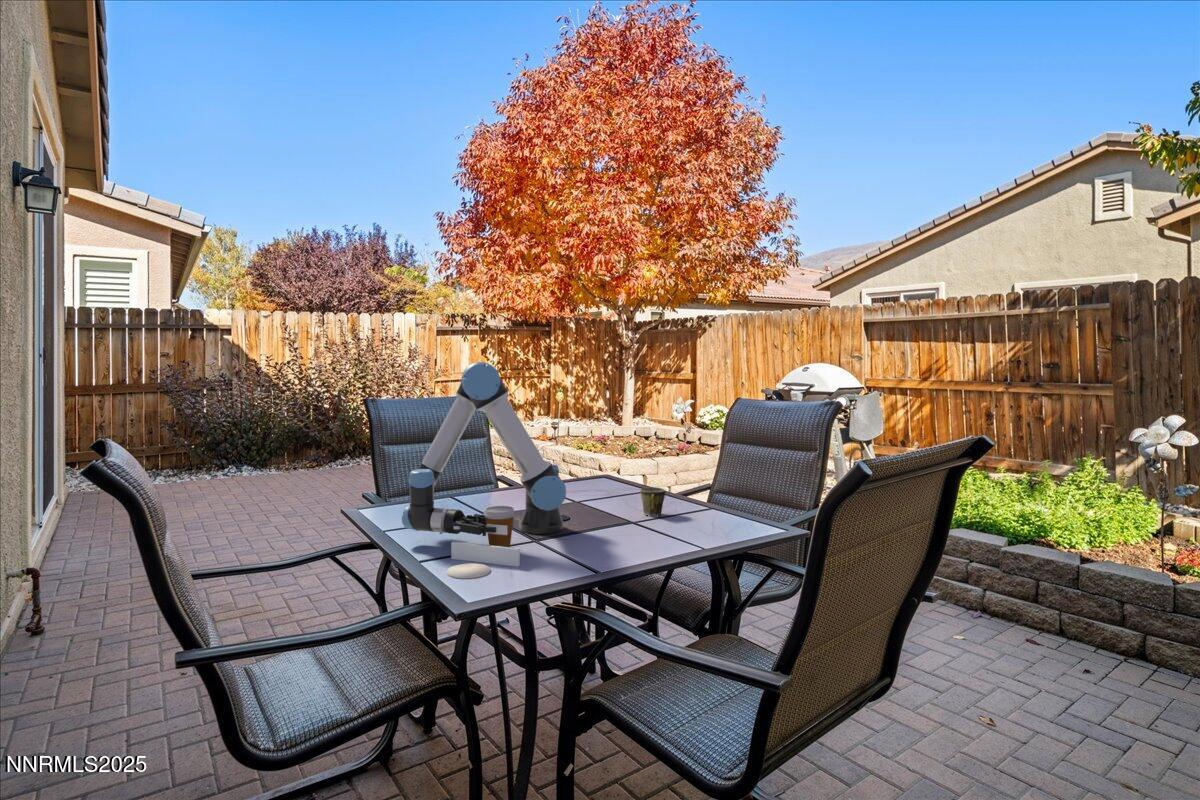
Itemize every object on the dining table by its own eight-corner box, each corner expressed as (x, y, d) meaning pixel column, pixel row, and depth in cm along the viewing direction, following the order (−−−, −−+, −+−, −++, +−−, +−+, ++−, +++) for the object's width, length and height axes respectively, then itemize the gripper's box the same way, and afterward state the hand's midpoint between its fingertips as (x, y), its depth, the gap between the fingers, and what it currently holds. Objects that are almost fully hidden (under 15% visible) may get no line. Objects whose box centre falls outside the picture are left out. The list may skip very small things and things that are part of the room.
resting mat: (494, 565, 189) (494, 564, 189) (483, 579, 177) (483, 577, 177) (454, 564, 190) (454, 562, 190) (440, 577, 178) (440, 576, 178)
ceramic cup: (639, 511, 260) (639, 486, 259) (664, 512, 259) (664, 487, 259) (640, 519, 247) (640, 493, 246) (666, 520, 246) (666, 493, 246)
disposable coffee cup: (520, 549, 199) (519, 510, 199) (490, 553, 195) (489, 514, 194) (508, 541, 208) (508, 504, 207) (479, 545, 203) (479, 507, 202)
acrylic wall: (451, 558, 195) (451, 542, 195) (453, 557, 197) (453, 541, 196) (518, 566, 188) (518, 549, 188) (519, 565, 189) (519, 548, 189)
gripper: (465, 524, 217) (528, 530, 209) (429, 541, 197) (497, 548, 190) (465, 502, 216) (528, 507, 209) (429, 516, 197) (497, 522, 189)
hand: (513, 526), depth 199 cm, fingers closed on disposable coffee cup, 8 cm apart
